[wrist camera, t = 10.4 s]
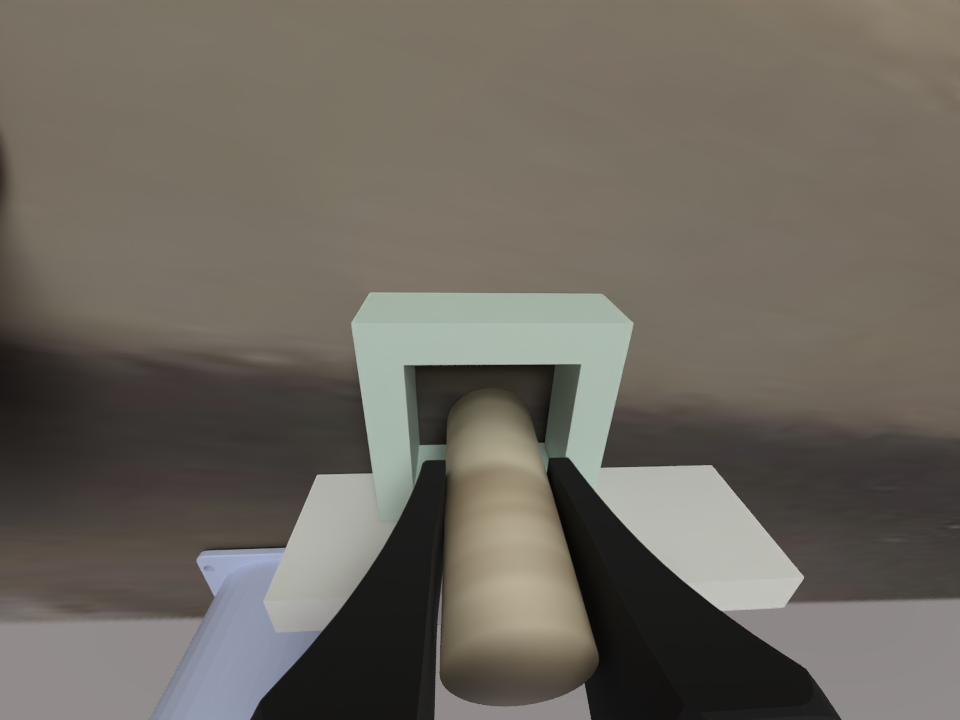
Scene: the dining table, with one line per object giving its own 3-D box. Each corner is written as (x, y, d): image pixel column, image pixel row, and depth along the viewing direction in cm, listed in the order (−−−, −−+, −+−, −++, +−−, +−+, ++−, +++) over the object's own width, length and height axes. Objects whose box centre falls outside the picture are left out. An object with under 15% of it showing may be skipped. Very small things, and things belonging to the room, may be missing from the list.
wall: (700, 492, 21) (783, 607, 16) (324, 503, 20) (275, 632, 14) (711, 465, 20) (804, 577, 15) (317, 474, 19) (262, 601, 13)
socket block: (570, 465, 19) (589, 514, 17) (390, 469, 19) (379, 521, 16) (602, 293, 15) (633, 323, 12) (369, 292, 14) (351, 323, 12)
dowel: (526, 453, 16) (585, 701, 9) (447, 455, 15) (441, 710, 8) (533, 387, 14) (612, 621, 7) (446, 388, 14) (437, 630, 7)
